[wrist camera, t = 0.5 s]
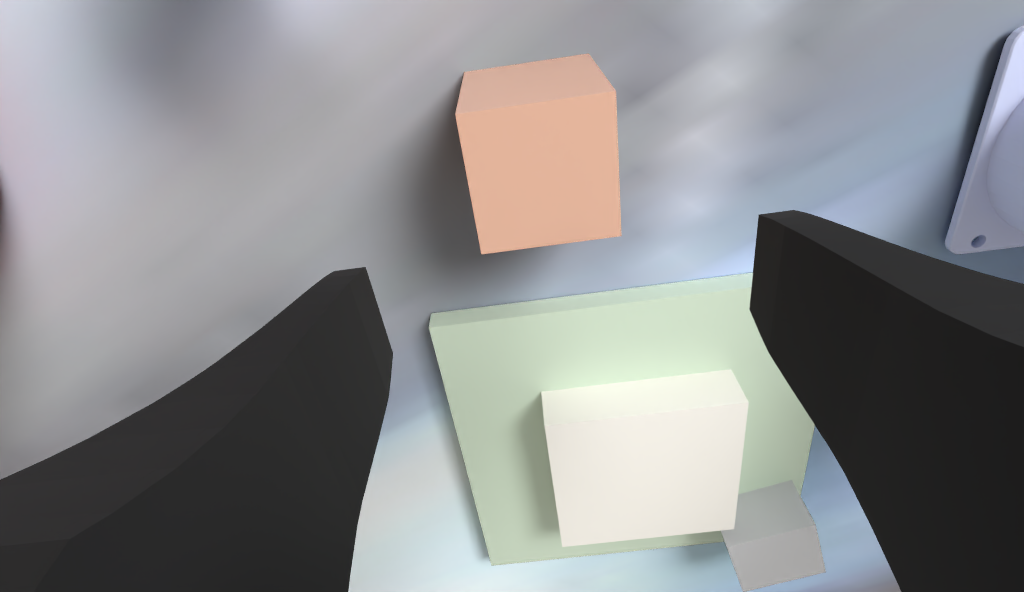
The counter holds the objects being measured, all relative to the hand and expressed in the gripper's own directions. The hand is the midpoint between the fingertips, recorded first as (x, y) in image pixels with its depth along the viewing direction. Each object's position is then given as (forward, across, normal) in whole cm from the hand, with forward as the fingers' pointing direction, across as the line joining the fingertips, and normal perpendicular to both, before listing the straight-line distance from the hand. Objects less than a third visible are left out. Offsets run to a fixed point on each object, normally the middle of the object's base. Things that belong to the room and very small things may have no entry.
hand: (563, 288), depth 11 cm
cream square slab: (+10, -3, +15) cm, 18 cm away
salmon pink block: (+10, 0, 0) cm, 10 cm away
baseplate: (+10, -3, +15) cm, 18 cm away
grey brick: (+9, -9, +21) cm, 25 cm away
